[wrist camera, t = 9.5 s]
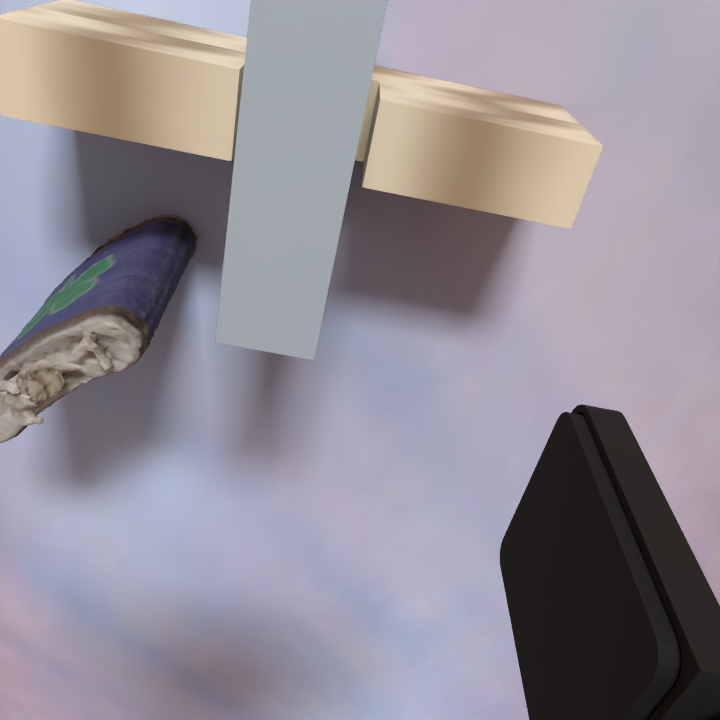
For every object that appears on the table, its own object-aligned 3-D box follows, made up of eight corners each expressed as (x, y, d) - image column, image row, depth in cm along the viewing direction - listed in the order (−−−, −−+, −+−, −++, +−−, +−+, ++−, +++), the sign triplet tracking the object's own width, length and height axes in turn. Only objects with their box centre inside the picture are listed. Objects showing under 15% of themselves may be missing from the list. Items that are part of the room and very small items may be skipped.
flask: (74, 339, 34) (-32, 486, 25) (29, 296, 33) (-99, 435, 24) (211, 247, 31) (147, 376, 22) (169, 196, 30) (82, 311, 21)
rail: (561, 106, 27) (603, 146, 22) (536, 176, 29) (570, 228, 24) (66, -2, 26) (-9, 16, 21) (69, 80, 27) (0, 115, 22)
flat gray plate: (302, -54, 25) (254, -39, 15) (382, -35, 25) (389, -8, 15) (267, 202, 30) (215, 342, 20) (333, 215, 30) (313, 360, 20)
